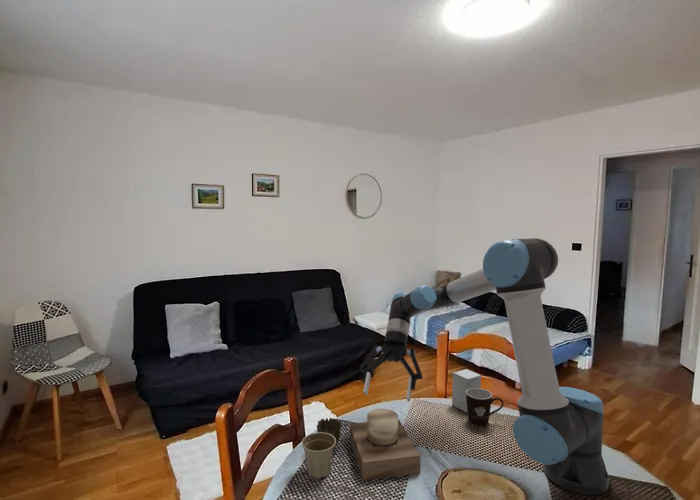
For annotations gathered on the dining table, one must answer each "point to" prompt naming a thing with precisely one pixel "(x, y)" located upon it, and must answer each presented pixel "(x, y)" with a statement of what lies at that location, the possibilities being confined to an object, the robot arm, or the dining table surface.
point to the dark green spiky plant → (330, 427)
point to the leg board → (384, 454)
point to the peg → (382, 427)
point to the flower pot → (319, 453)
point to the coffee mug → (479, 406)
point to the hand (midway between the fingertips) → (386, 396)
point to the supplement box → (463, 387)
